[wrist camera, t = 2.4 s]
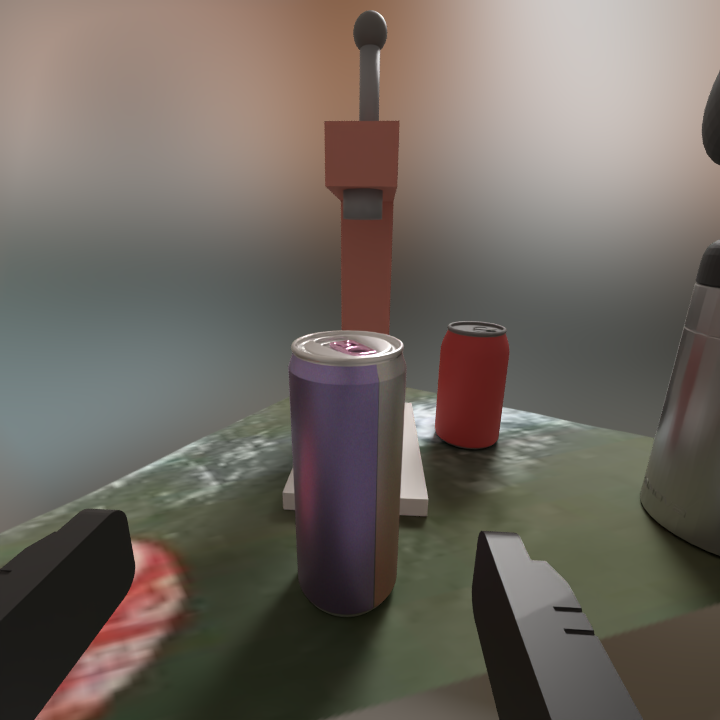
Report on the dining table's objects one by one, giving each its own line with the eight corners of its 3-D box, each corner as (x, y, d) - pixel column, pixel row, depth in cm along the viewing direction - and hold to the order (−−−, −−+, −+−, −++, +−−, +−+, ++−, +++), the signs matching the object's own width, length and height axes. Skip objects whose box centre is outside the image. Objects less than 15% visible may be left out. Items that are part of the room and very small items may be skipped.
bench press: (410, 414, 46) (431, 20, 35) (427, 516, 29) (478, -194, 18) (320, 411, 47) (311, 23, 36) (283, 509, 30) (243, -182, 18)
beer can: (502, 456, 38) (518, 336, 34) (433, 448, 39) (442, 332, 35) (494, 426, 44) (507, 321, 40) (435, 420, 45) (442, 318, 42)
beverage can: (323, 644, 20) (316, 367, 15) (284, 563, 25) (271, 336, 20) (416, 594, 23) (432, 349, 18) (365, 531, 28) (368, 325, 23)
